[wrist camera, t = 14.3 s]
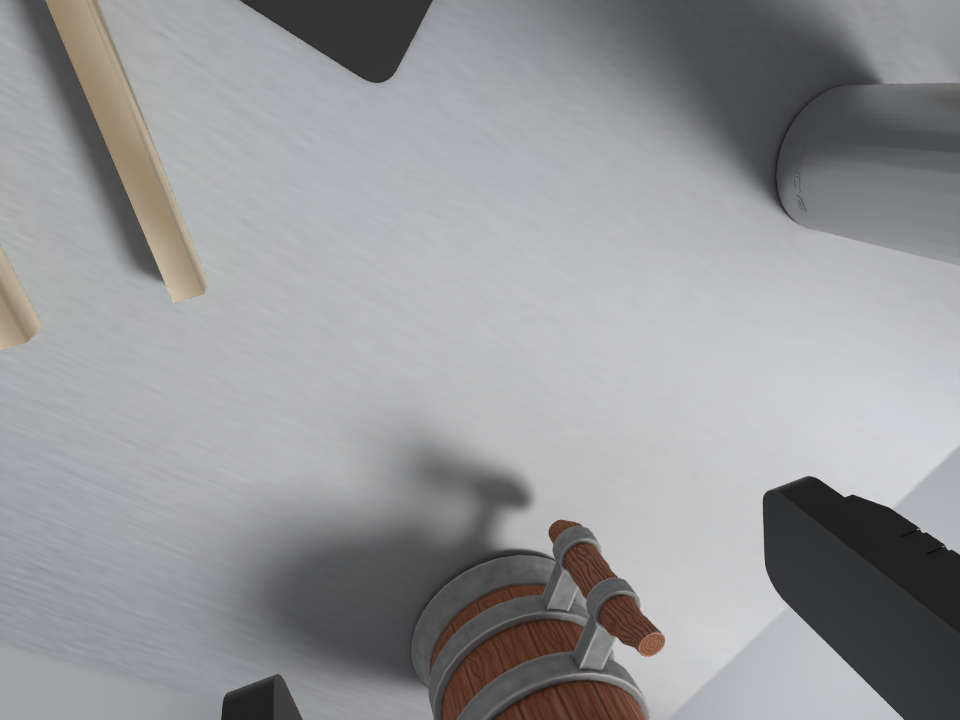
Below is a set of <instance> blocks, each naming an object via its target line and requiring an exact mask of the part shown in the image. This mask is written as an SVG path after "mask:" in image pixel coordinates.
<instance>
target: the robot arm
mask: <svg viewBox="0 0 960 720" xmlns="http://www.w3.org/2000/svg"><path fill="white" fill-rule="evenodd" d="M776 179H777V187H778V193H779V196H780V199H781V202H782V205H783V207H784V208H785V210H786V211H787V213H788V215H789V216H790V217H791V218H792V219H794V220H795V221H796V222H797V223H798V224H800V225H802V226H804V227H806V228H809V229H813V230H817V231H821V232H825V233H830V234H834V235H838V236H842V237H846V238H850V239H853V240H857V241H861V242H865V243H869V244H873V245H877V246H881V247H885V248H890V249H894V250H898V251H902V252H906V253H910V254H914V255H918V256H922V257H926V258H930V259H935V260H939V261H943V262H947V263H951V264H955V265H959V266H960V83H923V84H874V85H844V86H840V87H836V88H832V89H830V90H828V91H826V92H824V93H822V94H820V95H819V96H817V97H816V98H815V99H814V100H812V101H811V102H810V103H809V104H807V105H806V107H805V108H804V109H803V110H802V111H801V112H800V113H799V115H798V116H797V117H796V118H795V120H794V122H793V123H792V125H791V126H790V128H789V130H788V131H787V134H786V136H785V139H784V141H783V143H782V146H781V150H780V154H779V158H778V162H777V176H776ZM763 524H764V553H765V566H766V570H767V573H768V576H769V578H770V580H771V582H772V584H773V586H774V588H775V589H776V591H777V592H778V594H779V595H780V596H781V598H782V599H783V600H784V601H785V602H786V603H787V604H788V605H789V606H790V607H791V608H792V609H793V610H794V611H795V612H796V613H797V614H798V615H799V616H800V617H801V618H802V619H803V620H804V621H805V622H807V624H809V626H810V627H811V628H812V629H813V630H815V632H816V633H818V635H819V636H821V637H822V638H823V640H825V641H826V642H827V643H828V644H829V645H830V646H831V647H832V648H833V649H834V650H835V651H836V652H837V653H838V654H839V655H840V656H841V657H842V658H843V659H844V660H845V661H846V662H847V663H848V664H849V665H850V666H851V667H852V668H853V669H854V670H855V671H856V672H857V673H858V674H859V675H860V676H861V677H862V678H863V679H864V680H865V681H866V682H867V683H868V684H869V685H870V686H871V687H872V688H873V689H874V690H875V691H876V692H877V693H878V694H879V695H880V696H881V697H882V698H883V699H884V700H885V701H886V702H887V703H888V704H889V705H890V706H891V707H892V708H893V709H894V710H895V711H896V712H897V713H898V714H899V715H900V716H902V718H903V719H904V720H960V555H959V554H958V553H956V552H955V551H953V550H950V551H949V550H947V548H946V546H945V545H944V544H943V543H941V542H940V541H938V540H937V539H935V538H934V537H932V536H931V535H929V534H928V533H922V532H921V531H920V528H919V527H917V526H916V525H914V524H913V523H911V522H910V521H908V520H907V519H905V518H904V517H902V516H901V515H899V514H897V513H896V512H895V511H893V510H892V509H890V508H888V507H886V506H883V505H880V504H877V503H875V502H872V501H869V500H866V499H863V498H861V497H858V496H855V495H850V496H848V497H843V496H842V495H840V494H839V493H838V492H836V491H835V490H833V489H832V488H830V487H829V486H828V485H826V484H825V483H823V482H822V481H820V480H819V479H817V478H815V477H811V476H807V477H804V478H801V479H798V480H796V481H793V482H791V483H788V484H785V485H783V486H780V487H777V488H775V489H772V490H769V491H767V492H766V493H765V495H764V497H763ZM221 720H302V717H301V715H300V713H299V711H298V709H297V707H296V705H295V702H294V700H293V698H292V696H291V694H290V692H289V690H288V687H287V685H286V683H285V681H284V679H283V678H282V676H281V675H279V674H276V675H274V676H271V677H268V678H266V679H263V680H260V681H258V682H255V683H252V684H250V685H247V686H244V687H242V688H239V689H236V690H234V691H231V692H228V693H227V694H226V695H225V697H224V700H223V707H222V718H221Z"/></svg>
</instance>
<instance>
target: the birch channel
mask: <svg viewBox="0 0 960 720" xmlns="http://www.w3.org/2000/svg"><path fill="white" fill-rule="evenodd" d="M45 1H46V3H47V5H48V8H49V10H50V13H51V15H52V17H53V20H54V22H55V24H56V27H57V29H58V31H59V34H60V36H61V39H62V41H63V43H64V46H65V48H66V50H67V53H68V55H69V57H70V60H71V62H72V65H73V67H74V69H75V72H76V74H77V76H78V79H79V81H80V83H81V86H82V88H83V91H84V93H85V95H86V98H87V100H88V102H89V105H90V107H91V109H92V112H93V114H94V116H95V119H96V121H97V124H98V126H99V128H100V131H101V133H102V135H103V138H104V140H105V142H106V145H107V147H108V150H109V152H110V154H111V157H112V159H113V161H114V164H115V166H116V168H117V171H118V173H119V176H120V178H121V180H122V183H123V185H124V187H125V190H126V192H127V194H128V197H129V199H130V202H131V204H132V206H133V209H134V211H135V213H136V216H137V218H138V220H139V223H140V225H141V228H142V230H143V232H144V235H145V237H146V239H147V242H148V244H149V246H150V249H151V251H152V253H153V256H154V258H155V261H156V263H157V265H158V268H159V270H160V272H161V275H162V277H163V279H164V282H165V284H166V287H167V289H168V291H169V294H170V296H171V298H172V301H173V303H174V302H177V301H181V300H185V299H188V298H192V297H196V296H199V295H203V294H204V291H205V289H206V286H207V284H208V281H207V278H206V276H205V273H204V271H203V268H202V266H201V263H200V261H199V258H198V256H197V253H196V251H195V248H194V245H193V243H192V240H191V238H190V235H189V233H188V230H187V228H186V225H185V223H184V220H183V218H182V215H181V213H180V210H179V207H178V205H177V202H176V200H175V197H174V195H173V192H172V190H171V187H170V185H169V182H168V180H167V177H166V175H165V172H164V169H163V167H162V164H161V162H160V159H159V157H158V154H157V152H156V149H155V147H154V144H153V142H152V139H151V137H150V134H149V132H148V129H147V126H146V124H145V121H144V119H143V116H142V114H141V111H140V109H139V106H138V104H137V101H136V99H135V96H134V94H133V91H132V88H131V86H130V83H129V81H128V78H127V76H126V73H125V71H124V68H123V66H122V63H121V61H120V58H119V56H118V53H117V50H116V48H115V45H114V43H113V40H112V38H111V35H110V33H109V30H108V28H107V25H106V23H105V20H104V18H103V15H102V12H101V10H100V7H99V5H98V2H97V0H45ZM41 328H42V325H41V323H40V321H39V319H38V317H37V315H36V313H35V311H34V309H33V307H32V305H31V303H30V302H29V300H28V298H27V296H26V294H25V292H24V290H23V288H22V286H21V284H20V282H19V280H18V278H17V277H16V275H15V273H14V271H13V269H12V267H11V265H10V263H9V261H8V259H7V257H6V255H5V253H4V251H3V250H2V248H1V246H0V350H1V349H5V348H9V347H12V346H16V345H20V344H23V343H27V342H28V341H29V340H30V339H31V338H32V337H33V336H34V335H35V334H36V333H37V332H38V331H39V330H40V329H41Z"/></svg>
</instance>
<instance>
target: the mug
mask: <svg viewBox="0 0 960 720" xmlns="http://www.w3.org/2000/svg"><path fill="white" fill-rule="evenodd" d="M549 537H550V539H551V541H552V542H553V544H554V545H553V554H554V557H555V559H556V562H555V561H553V560H551V559H547V558H543V557H538V556H526V555H515V556H509V557H503V558H497V559H494V560H491V561H488V562H485V563H482V564H479V565H477V566H475V567H473V568H471V569H469V570H467V571H465V572H463V573H462V574H460V575H459V576H458V577H456V578H455V579H453V580H452V581H451V582H449V583H448V584H447V585H445V586H444V587H443V588H442V589H441V590H440V591H439V592H438V593H437V594H436V595H435V596H434V597H433V599H432V600H431V601H430V603H429V604H428V606H427V607H426V608H425V610H424V611H423V613H422V615H421V617H420V619H419V621H418V623H417V625H416V627H415V631H414V636H413V640H412V660H413V664H414V667H415V671H416V673H417V674H418V676H419V678H420V679H421V681H422V683H423V684H424V685H425V686H426V687H427V688H429V700H430V704H431V708H432V712H433V716H434V720H651V712H650V710H649V707H648V704H647V702H646V699H645V698H644V696H643V695H642V693H641V691H640V690H639V688H638V686H637V685H636V683H635V682H634V680H633V678H632V677H631V676H630V674H629V673H628V672H627V671H626V669H625V668H624V667H623V666H621V665H620V664H618V663H617V662H616V661H614V652H613V649H612V647H613V645H614V643H615V640H616V638H618V639H619V640H620V641H621V642H622V643H623V644H625V645H628V646H631V647H635V649H636V650H637V651H638V652H639V653H640V654H641V655H642V656H645V657H649V656H653V655H655V654H657V653H658V652H659V651H660V650H661V649H662V648H663V646H664V643H665V637H664V635H663V634H662V633H661V632H660V631H659V630H658V629H657V628H656V627H655V626H654V625H653V624H652V623H651V622H650V621H649V620H648V618H646V617H645V616H644V615H643V614H642V612H641V611H640V600H639V597H638V596H637V595H636V593H635V592H634V590H633V589H632V588H631V586H630V585H629V584H628V583H627V582H626V581H625V580H624V579H621V578H618V577H617V576H616V575H615V574H614V573H613V572H612V571H611V569H610V567H609V564H608V563H607V562H606V561H605V560H604V559H603V557H602V556H601V554H602V551H601V547H600V545H599V543H598V541H597V540H596V538H595V536H594V535H593V533H592V532H591V531H590V530H589V529H588V528H585V527H583V526H582V525H581V524H579V523H576V522H571V521H566V520H558V521H556V522H554V523H553V524H552V525H551V527H550V529H549Z"/></svg>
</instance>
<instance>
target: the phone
mask: <svg viewBox="0 0 960 720" xmlns="http://www.w3.org/2000/svg"><path fill="white" fill-rule="evenodd" d="M240 1H242V2H243V3H245V4H247V5H248V6H250V7H251V8H253V9H254V10H256V11H258V12H259V13H261V14H262V15H264V16H265V17H267V18H269V19H270V20H272V21H273V22H275V23H276V24H278V25H280V26H281V27H283V28H284V29H286V30H287V31H289V32H290V33H292V34H294V35H295V36H297V37H298V38H300V39H301V40H303V41H305V42H306V43H308V44H309V45H311V46H312V47H314V48H316V49H317V50H319V51H320V52H322V53H323V54H325V55H327V56H328V57H330V58H331V59H333V60H334V61H336V62H338V63H339V64H341V65H342V66H344V67H345V68H347V69H349V70H350V71H352V72H353V73H355V74H356V75H358V76H360V77H361V78H363V79H365V80H367V81H370V82H374V83H380V82H384V81H386V80H388V79H389V78H391V77H392V76H393V74H394V73H395V72H396V70H397V68H398V66H399V64H400V62H401V61H402V59H403V57H404V55H405V53H406V51H407V49H408V47H409V45H410V43H411V41H412V39H413V37H414V36H415V34H416V32H417V30H418V28H419V26H420V24H421V22H422V20H423V18H424V16H425V14H426V12H427V10H428V8H429V6H430V4H431V2H432V1H433V0H240Z"/></svg>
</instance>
